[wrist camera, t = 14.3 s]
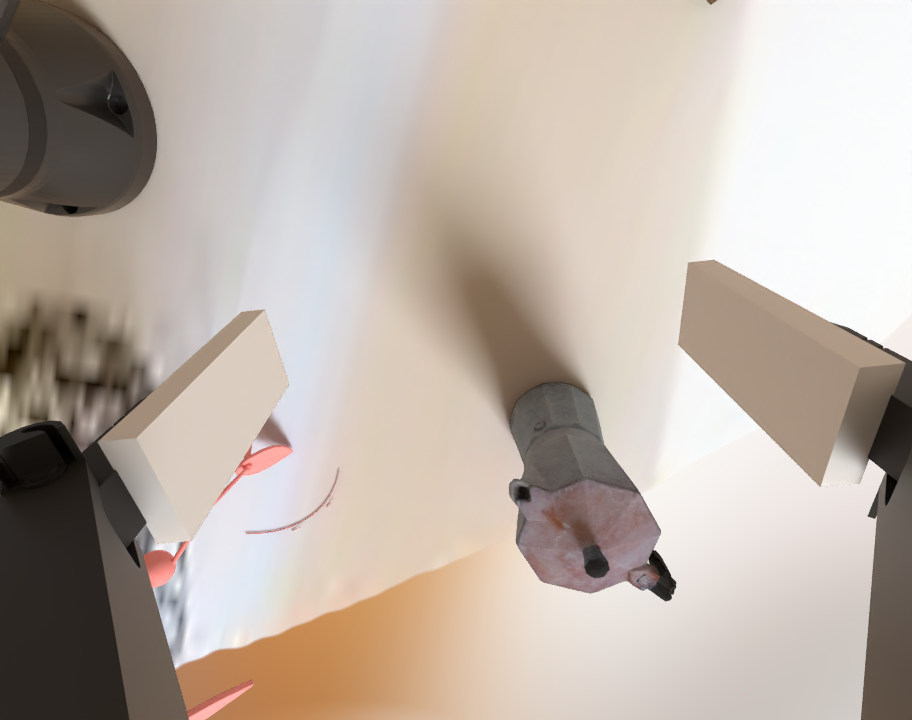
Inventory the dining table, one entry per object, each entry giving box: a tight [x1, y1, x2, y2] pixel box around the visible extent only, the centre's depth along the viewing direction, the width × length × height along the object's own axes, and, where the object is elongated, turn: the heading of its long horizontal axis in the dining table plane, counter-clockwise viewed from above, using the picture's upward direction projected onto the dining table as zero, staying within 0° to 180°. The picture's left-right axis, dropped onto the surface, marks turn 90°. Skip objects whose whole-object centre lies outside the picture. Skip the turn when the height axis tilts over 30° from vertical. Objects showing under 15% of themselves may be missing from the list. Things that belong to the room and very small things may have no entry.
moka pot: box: [509, 383, 676, 601], centre depth 38 cm, size 10×15×20 cm, turn 58°
